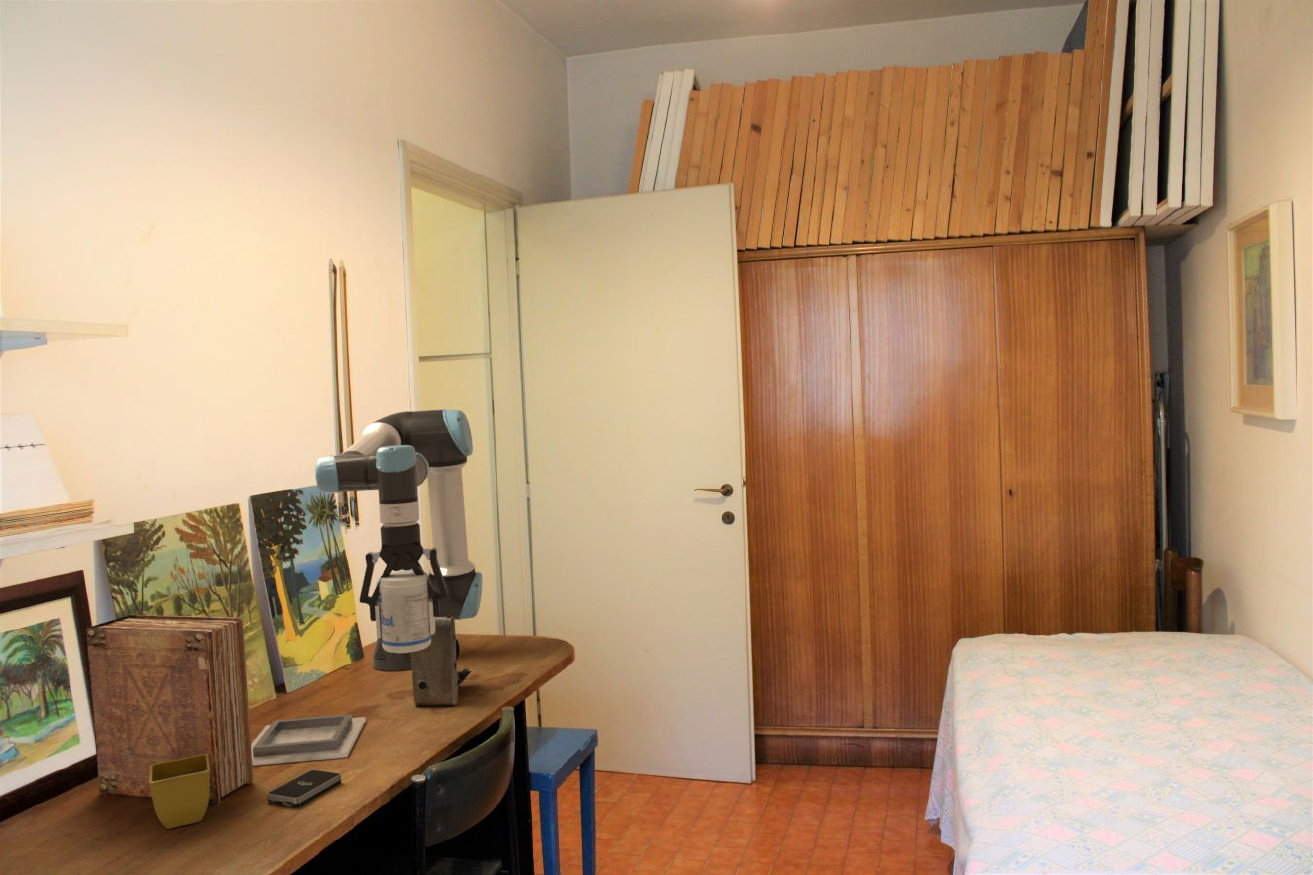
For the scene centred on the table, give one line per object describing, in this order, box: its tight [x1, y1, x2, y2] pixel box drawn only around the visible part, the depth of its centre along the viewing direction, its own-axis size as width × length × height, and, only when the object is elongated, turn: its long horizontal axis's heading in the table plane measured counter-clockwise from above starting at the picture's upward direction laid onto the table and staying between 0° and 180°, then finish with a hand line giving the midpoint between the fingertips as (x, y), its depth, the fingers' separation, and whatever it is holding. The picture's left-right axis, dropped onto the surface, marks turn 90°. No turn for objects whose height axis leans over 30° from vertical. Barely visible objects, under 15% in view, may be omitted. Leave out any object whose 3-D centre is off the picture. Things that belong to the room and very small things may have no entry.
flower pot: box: [149, 754, 210, 830], centre depth 156 cm, size 9×9×9 cm
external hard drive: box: [267, 768, 342, 808], centre depth 165 cm, size 7×11×2 cm, turn 157°
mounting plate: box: [251, 713, 367, 767], centre depth 189 cm, size 20×20×3 cm
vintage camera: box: [411, 615, 472, 707], centre depth 215 cm, size 10×16×20 cm, turn 174°
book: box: [85, 614, 255, 806], centre depth 169 cm, size 25×9×30 cm, turn 74°
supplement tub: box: [379, 570, 431, 653], centre depth 190 cm, size 10×10×15 cm
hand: (406, 634), depth 190 cm, fingers closed on supplement tub, 10 cm apart
